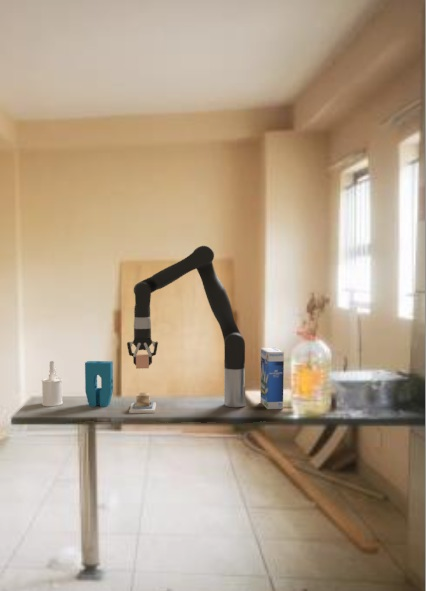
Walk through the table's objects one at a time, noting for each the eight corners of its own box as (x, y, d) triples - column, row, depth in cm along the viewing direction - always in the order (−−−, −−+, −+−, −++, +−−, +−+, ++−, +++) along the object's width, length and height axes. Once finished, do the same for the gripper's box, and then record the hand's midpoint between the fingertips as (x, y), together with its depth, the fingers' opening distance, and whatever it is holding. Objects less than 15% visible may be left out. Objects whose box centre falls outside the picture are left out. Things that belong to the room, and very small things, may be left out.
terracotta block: (149, 366, 235) (149, 354, 235) (148, 368, 229) (148, 356, 229) (137, 366, 235) (137, 354, 234) (136, 368, 229) (135, 356, 229)
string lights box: (260, 402, 244) (260, 347, 243) (275, 401, 246) (275, 347, 244) (267, 409, 231) (268, 352, 230) (284, 408, 233) (284, 351, 231)
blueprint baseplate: (156, 405, 240) (156, 400, 240) (154, 412, 227) (154, 408, 227) (132, 405, 239) (132, 401, 239) (129, 413, 226) (129, 408, 226)
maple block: (149, 404, 236) (149, 392, 236) (149, 407, 230) (148, 395, 230) (137, 404, 235) (137, 392, 235) (136, 408, 230) (136, 395, 230)
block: (113, 404, 242) (113, 361, 241) (110, 406, 237) (110, 363, 236) (88, 403, 243) (88, 361, 242) (85, 406, 238) (84, 362, 237)
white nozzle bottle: (42, 402, 245) (41, 360, 244) (62, 400, 248) (62, 359, 247) (41, 408, 235) (41, 364, 234) (63, 406, 238) (62, 362, 237)
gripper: (159, 326, 235) (159, 363, 236) (127, 326, 235) (127, 363, 235) (158, 328, 228) (158, 366, 229) (125, 328, 227) (125, 366, 228)
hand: (142, 364), depth 232 cm, fingers closed on terracotta block, 5 cm apart
